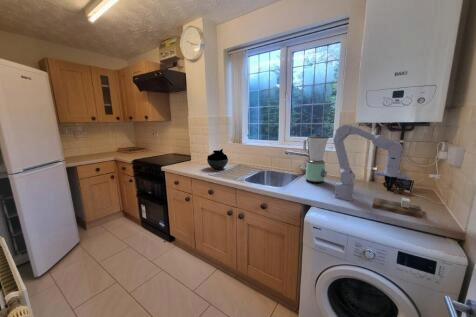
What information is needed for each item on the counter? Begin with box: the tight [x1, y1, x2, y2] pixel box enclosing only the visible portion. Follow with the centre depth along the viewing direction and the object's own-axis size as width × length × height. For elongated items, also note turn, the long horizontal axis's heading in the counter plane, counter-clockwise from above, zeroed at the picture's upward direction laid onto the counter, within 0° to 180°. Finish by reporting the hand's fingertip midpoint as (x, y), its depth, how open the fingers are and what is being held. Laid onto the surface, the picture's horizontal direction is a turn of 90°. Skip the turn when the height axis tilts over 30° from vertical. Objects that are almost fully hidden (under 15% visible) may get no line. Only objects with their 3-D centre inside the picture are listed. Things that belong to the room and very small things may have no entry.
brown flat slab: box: [371, 197, 424, 219], centre depth 105 cm, size 20×11×2 cm, turn 52°
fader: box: [400, 197, 411, 208], centre depth 102 cm, size 3×5×4 cm, turn 142°
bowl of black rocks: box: [206, 148, 229, 170], centre depth 189 cm, size 20×20×19 cm
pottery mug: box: [382, 180, 407, 194], centre depth 129 cm, size 12×10×8 cm
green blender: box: [302, 134, 330, 185], centre depth 149 cm, size 19×13×35 cm
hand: (388, 190), depth 106 cm, fingers closed
